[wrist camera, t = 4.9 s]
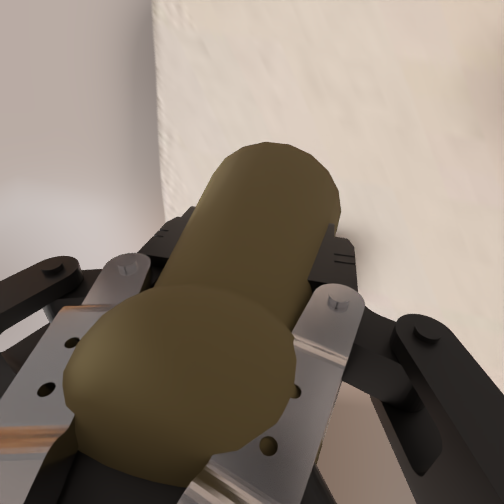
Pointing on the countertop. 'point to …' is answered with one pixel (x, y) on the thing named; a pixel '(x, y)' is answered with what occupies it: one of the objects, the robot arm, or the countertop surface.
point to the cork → (208, 325)
